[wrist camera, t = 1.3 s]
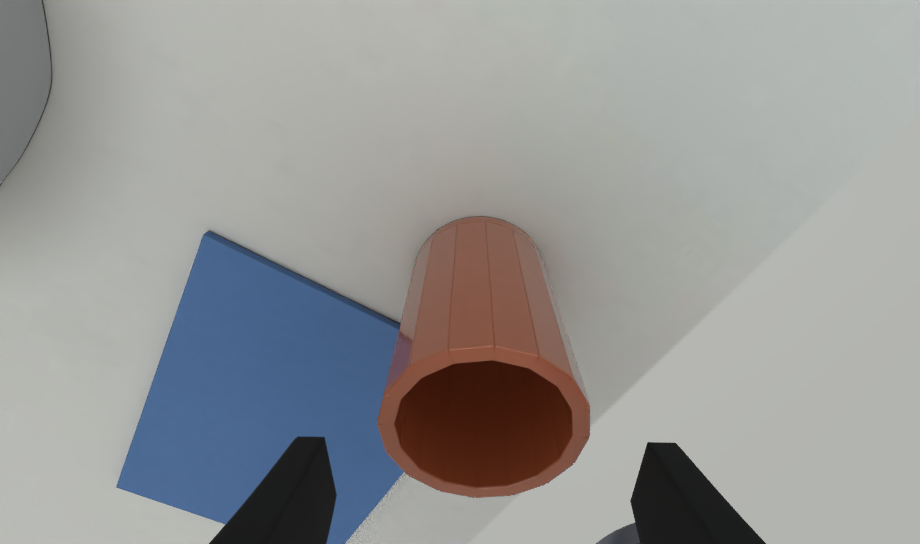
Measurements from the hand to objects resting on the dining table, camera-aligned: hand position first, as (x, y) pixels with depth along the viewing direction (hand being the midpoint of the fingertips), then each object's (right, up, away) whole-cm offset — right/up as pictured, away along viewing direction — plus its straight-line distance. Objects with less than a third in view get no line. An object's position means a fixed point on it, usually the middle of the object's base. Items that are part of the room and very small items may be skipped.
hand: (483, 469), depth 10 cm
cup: (0, +4, +8) cm, 9 cm away
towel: (-10, -4, +13) cm, 16 cm away
